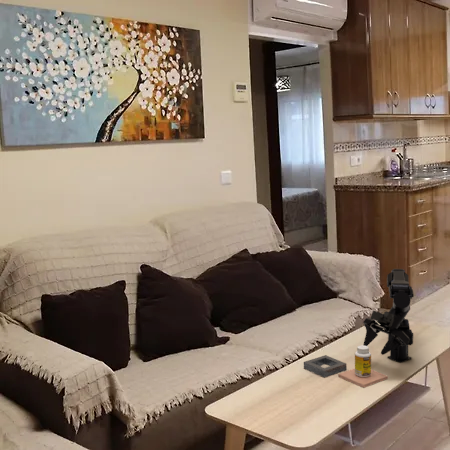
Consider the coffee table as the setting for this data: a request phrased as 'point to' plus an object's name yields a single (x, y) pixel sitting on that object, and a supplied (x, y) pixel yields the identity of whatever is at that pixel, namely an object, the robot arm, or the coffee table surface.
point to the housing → (333, 368)
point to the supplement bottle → (363, 361)
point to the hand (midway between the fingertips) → (372, 350)
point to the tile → (363, 378)
